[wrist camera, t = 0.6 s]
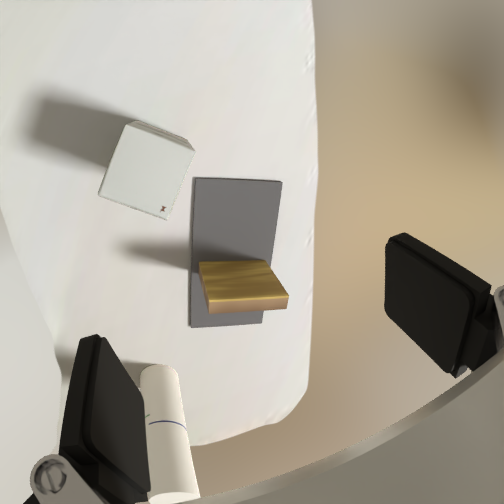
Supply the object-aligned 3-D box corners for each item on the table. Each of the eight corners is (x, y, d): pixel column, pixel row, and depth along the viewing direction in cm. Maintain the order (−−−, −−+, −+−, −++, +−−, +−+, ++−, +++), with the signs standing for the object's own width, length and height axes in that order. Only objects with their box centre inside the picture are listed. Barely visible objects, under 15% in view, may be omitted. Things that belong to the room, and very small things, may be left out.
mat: (195, 178, 41) (195, 178, 41) (281, 181, 44) (282, 182, 44) (190, 326, 51) (190, 327, 51) (261, 321, 54) (261, 323, 54)
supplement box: (189, 139, 39) (200, 152, 28) (165, 190, 41) (167, 224, 30) (136, 117, 36) (125, 121, 25) (114, 171, 38) (95, 197, 27)
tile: (198, 261, 46) (209, 300, 37) (265, 260, 49) (289, 295, 40) (198, 273, 47) (208, 313, 38) (263, 271, 50) (286, 308, 41)
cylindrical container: (184, 382, 56) (208, 501, 35) (151, 393, 56) (165, 510, 34) (167, 359, 53) (186, 488, 31) (132, 371, 52) (139, 497, 30)
